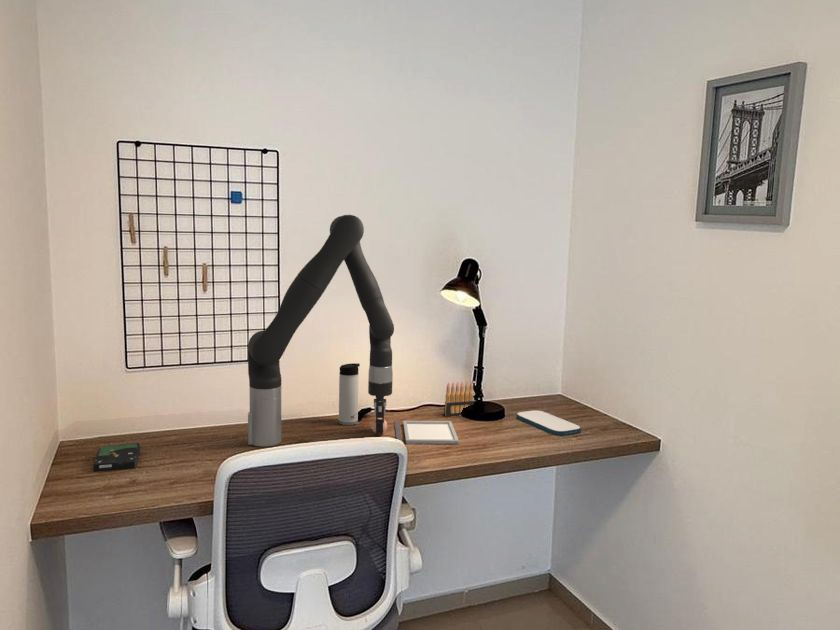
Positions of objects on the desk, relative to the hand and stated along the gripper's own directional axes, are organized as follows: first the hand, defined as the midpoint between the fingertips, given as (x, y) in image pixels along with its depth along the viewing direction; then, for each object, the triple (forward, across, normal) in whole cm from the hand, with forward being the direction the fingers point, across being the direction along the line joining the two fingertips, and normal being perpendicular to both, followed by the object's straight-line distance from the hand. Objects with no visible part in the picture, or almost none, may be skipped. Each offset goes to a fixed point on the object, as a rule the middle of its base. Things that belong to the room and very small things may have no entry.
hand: (379, 431), depth 210 cm
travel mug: (+1, -11, -10) cm, 15 cm away
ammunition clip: (+1, -21, +28) cm, 35 cm away
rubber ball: (+1, 0, 0) cm, 1 cm away
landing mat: (+1, 0, +15) cm, 15 cm away
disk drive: (+1, +25, -71) cm, 75 cm away
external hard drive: (+1, -11, +57) cm, 58 cm away
